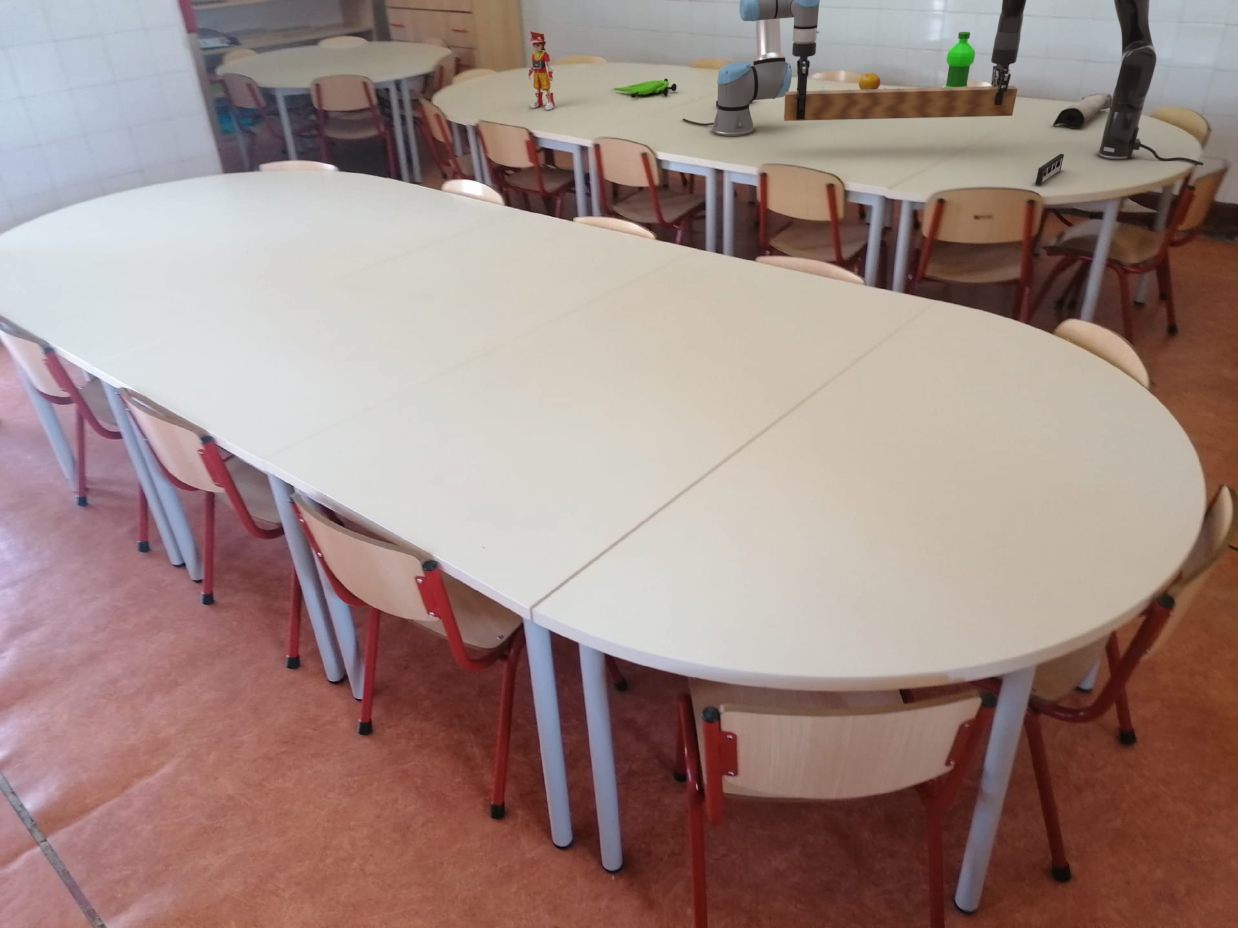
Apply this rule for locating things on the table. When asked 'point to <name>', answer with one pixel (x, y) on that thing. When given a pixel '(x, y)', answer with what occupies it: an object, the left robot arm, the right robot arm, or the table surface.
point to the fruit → (869, 81)
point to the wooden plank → (901, 103)
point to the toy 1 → (541, 71)
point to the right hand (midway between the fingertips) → (996, 102)
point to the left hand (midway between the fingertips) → (800, 117)
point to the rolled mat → (1083, 110)
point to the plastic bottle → (960, 61)
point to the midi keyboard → (1049, 169)
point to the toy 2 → (648, 88)
